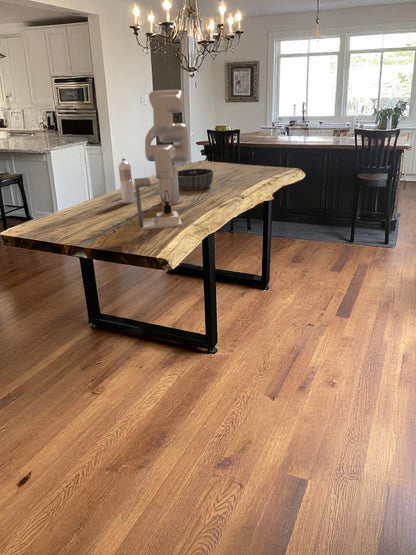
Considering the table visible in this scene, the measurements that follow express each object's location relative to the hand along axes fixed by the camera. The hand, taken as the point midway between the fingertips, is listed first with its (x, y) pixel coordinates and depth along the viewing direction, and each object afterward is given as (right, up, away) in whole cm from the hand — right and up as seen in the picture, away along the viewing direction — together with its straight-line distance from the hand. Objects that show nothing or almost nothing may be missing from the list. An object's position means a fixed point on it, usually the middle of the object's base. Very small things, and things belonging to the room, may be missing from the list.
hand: (167, 211), depth 225 cm
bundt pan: (+11, +25, +72) cm, 77 cm away
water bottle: (-26, +11, +43) cm, 52 cm away
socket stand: (-4, -5, +2) cm, 7 cm away
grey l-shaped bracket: (-10, -5, 0) cm, 11 cm away
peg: (0, -2, +1) cm, 2 cm away
